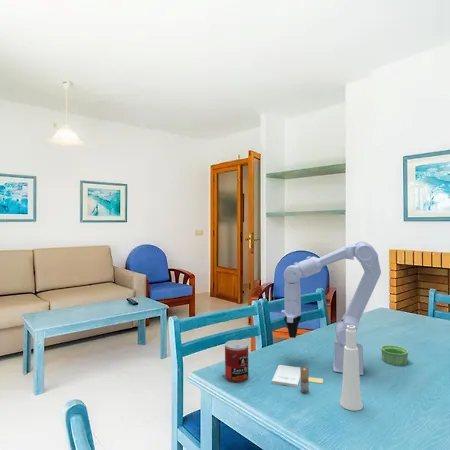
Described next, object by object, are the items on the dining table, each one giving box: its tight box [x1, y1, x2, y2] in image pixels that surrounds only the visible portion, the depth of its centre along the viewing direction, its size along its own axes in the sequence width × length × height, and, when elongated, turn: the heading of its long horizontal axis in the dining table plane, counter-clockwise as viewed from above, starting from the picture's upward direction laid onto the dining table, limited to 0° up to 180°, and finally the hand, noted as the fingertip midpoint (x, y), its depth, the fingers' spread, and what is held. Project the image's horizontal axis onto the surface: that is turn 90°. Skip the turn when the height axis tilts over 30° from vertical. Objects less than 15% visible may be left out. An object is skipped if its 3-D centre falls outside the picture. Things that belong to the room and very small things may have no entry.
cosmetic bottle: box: [339, 325, 364, 412], centre depth 95 cm, size 6×6×22 cm
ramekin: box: [380, 344, 409, 366], centre depth 124 cm, size 9×9×4 cm
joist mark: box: [309, 376, 324, 385], centre depth 110 cm, size 5×3×1 cm, turn 72°
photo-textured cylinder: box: [299, 366, 310, 394], centre depth 103 cm, size 2×2×7 cm
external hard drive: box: [271, 364, 301, 388], centre depth 113 cm, size 2×8×12 cm
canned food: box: [224, 339, 249, 383], centre depth 113 cm, size 8×8×11 cm
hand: (292, 337), depth 123 cm, fingers closed
